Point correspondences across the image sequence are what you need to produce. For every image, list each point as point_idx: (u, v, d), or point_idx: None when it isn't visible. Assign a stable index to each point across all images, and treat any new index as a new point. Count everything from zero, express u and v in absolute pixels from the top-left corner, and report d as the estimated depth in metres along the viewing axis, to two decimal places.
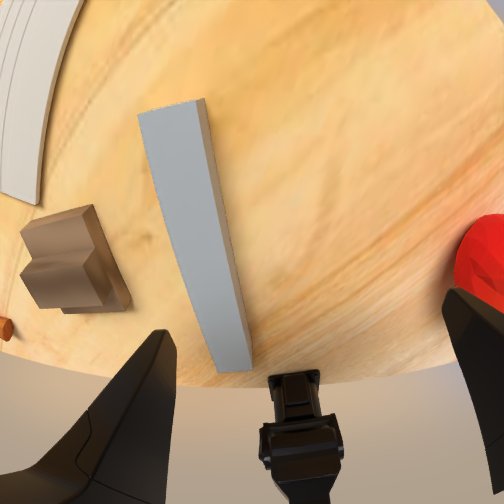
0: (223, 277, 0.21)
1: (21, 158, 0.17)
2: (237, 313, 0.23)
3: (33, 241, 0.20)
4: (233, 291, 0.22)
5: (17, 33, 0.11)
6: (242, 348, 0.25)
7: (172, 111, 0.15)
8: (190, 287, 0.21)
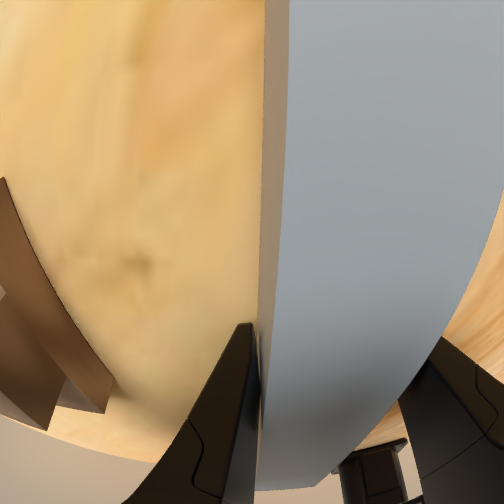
0: (384, 397, 0.06)
1: None
2: (355, 444, 0.08)
3: None
4: (380, 417, 0.07)
5: None
6: (320, 474, 0.10)
7: None
8: (277, 420, 0.06)
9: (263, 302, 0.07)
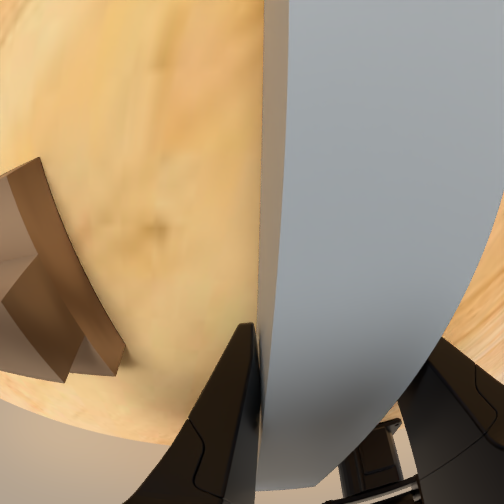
0: (384, 398, 0.06)
1: None
2: (355, 445, 0.08)
3: None
4: (380, 418, 0.07)
5: None
6: (320, 474, 0.10)
7: None
8: (277, 421, 0.06)
9: (263, 303, 0.06)
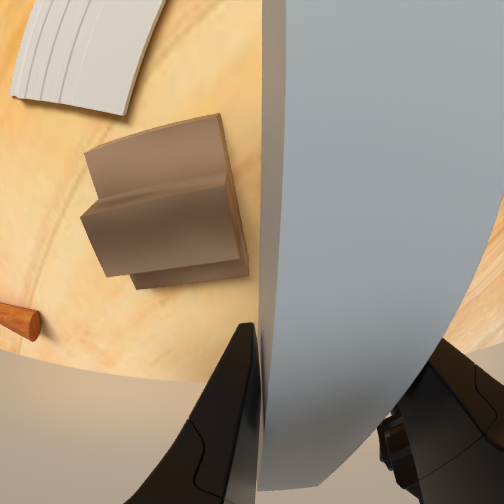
0: (387, 397, 0.06)
1: (111, 47, 0.12)
2: (358, 444, 0.08)
3: (107, 167, 0.15)
4: (383, 417, 0.07)
5: None
6: (323, 474, 0.10)
7: None
8: (279, 420, 0.06)
9: (264, 302, 0.06)
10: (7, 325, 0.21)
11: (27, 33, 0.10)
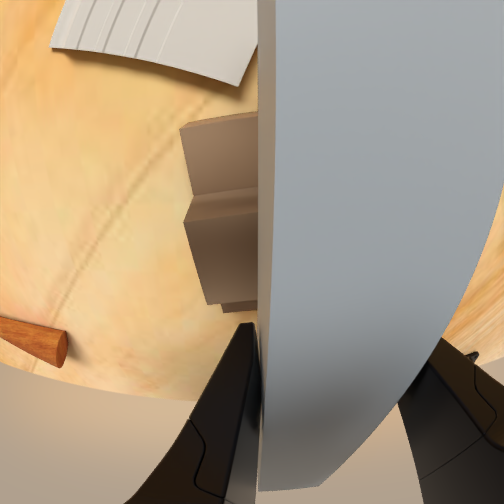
0: (386, 397, 0.06)
1: None
2: (358, 444, 0.08)
3: (216, 153, 0.11)
4: (383, 417, 0.07)
5: None
6: (324, 474, 0.10)
7: None
8: (278, 421, 0.06)
9: (261, 302, 0.06)
10: (26, 349, 0.18)
11: None
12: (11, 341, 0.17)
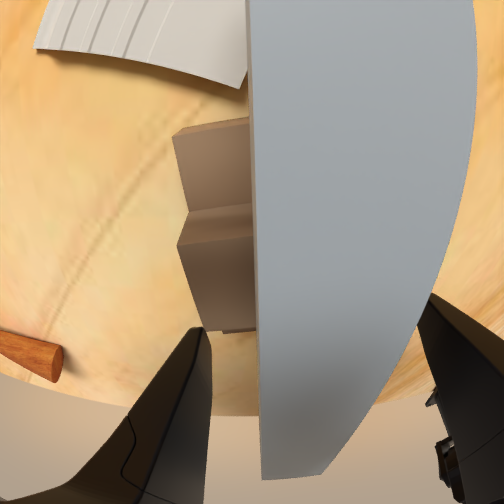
0: (376, 372, 0.06)
1: None
2: (355, 426, 0.09)
3: (214, 163, 0.10)
4: (376, 395, 0.07)
5: None
6: (324, 460, 0.11)
7: None
8: (274, 396, 0.07)
9: None
10: (20, 363, 0.16)
11: None
12: (5, 354, 0.16)
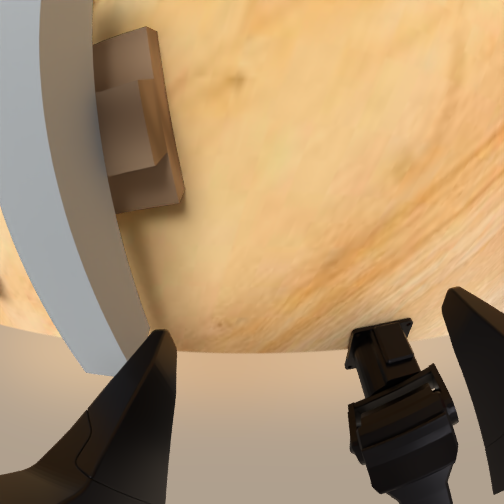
0: (42, 170, 0.08)
1: None
2: (78, 259, 0.10)
3: None
4: (62, 205, 0.08)
5: None
6: (106, 337, 0.12)
7: None
8: (2, 195, 0.08)
9: None
10: None
11: None
12: None
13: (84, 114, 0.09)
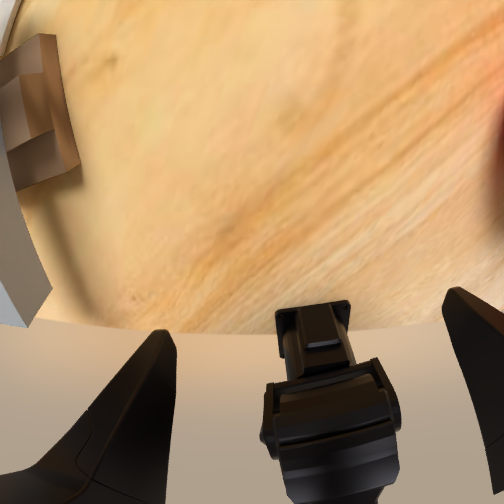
0: None
1: None
2: None
3: None
4: None
5: None
6: None
7: None
8: None
9: None
10: None
11: None
12: None
13: None
